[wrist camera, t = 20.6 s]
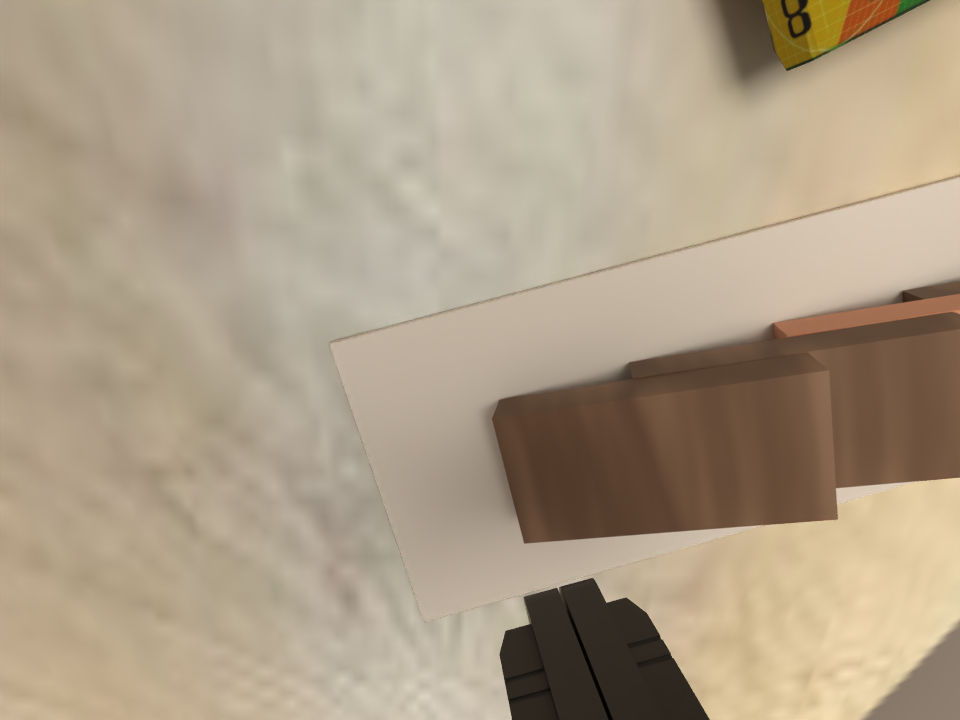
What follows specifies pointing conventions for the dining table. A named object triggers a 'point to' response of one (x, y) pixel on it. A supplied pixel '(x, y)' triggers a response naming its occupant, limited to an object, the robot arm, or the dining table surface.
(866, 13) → the puzzle game
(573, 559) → the mat
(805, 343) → the domino
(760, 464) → the domino
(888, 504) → the dining table surface
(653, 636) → the robot arm
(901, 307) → the domino
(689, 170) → the dining table surface
